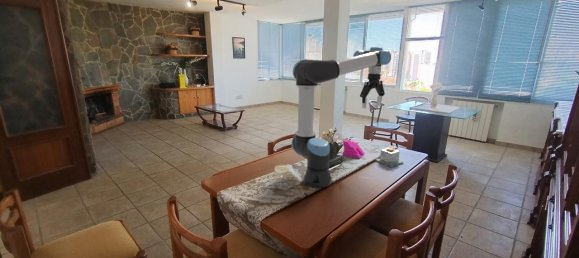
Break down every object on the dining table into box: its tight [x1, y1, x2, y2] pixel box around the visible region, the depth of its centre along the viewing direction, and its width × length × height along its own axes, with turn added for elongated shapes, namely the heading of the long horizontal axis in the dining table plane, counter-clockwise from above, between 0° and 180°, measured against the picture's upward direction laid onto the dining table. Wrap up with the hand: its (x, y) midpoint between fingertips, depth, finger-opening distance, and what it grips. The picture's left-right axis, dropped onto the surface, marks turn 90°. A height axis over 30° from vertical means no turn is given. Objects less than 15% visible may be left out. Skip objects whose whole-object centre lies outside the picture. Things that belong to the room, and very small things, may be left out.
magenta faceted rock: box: [342, 139, 366, 160], centre depth 185 cm, size 12×10×10 cm
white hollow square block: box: [379, 147, 400, 164], centre depth 172 cm, size 8×8×7 cm
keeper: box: [374, 147, 404, 168], centre depth 172 cm, size 12×12×9 cm
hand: (371, 107), depth 171 cm, fingers open, 13 cm apart
